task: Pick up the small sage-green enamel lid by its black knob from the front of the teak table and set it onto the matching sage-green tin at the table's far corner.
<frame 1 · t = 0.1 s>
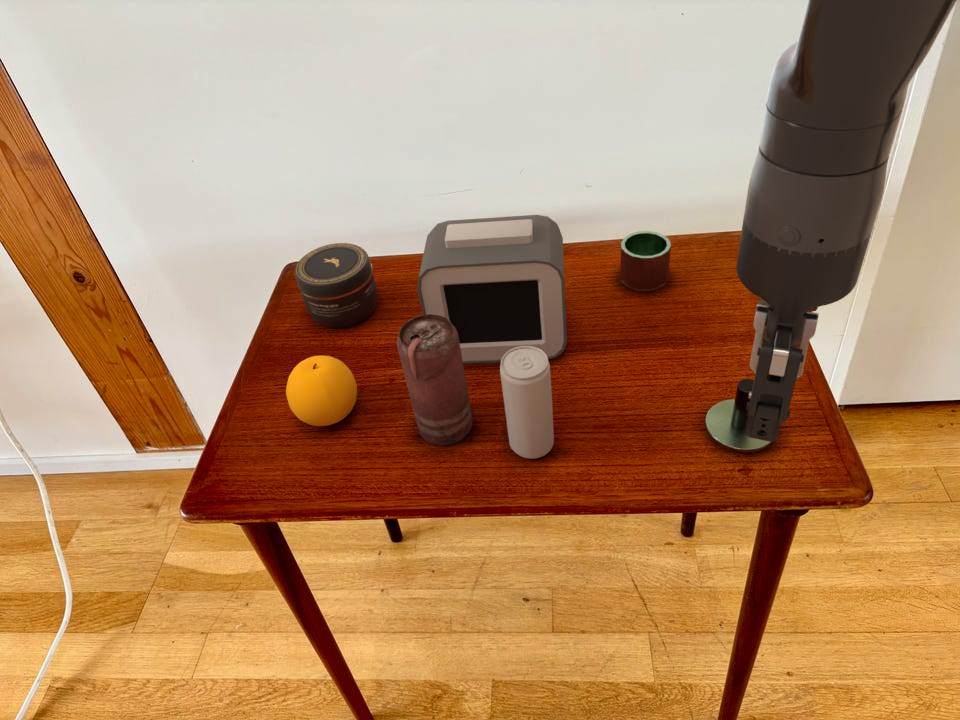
hand: (767, 396, 55), 16 cm above the table, tool pointing down, fingers open, 8 cm apart
can: (446, 429, 79), on the table
jar: (345, 309, 98), on the table
lid: (740, 426, 73), point 1 cm above the table
beverage can: (532, 445, 76), on the table
alarm clock: (501, 333, 90), on the table
pot: (644, 278, 95), on the table
orange: (329, 412, 83), on the table
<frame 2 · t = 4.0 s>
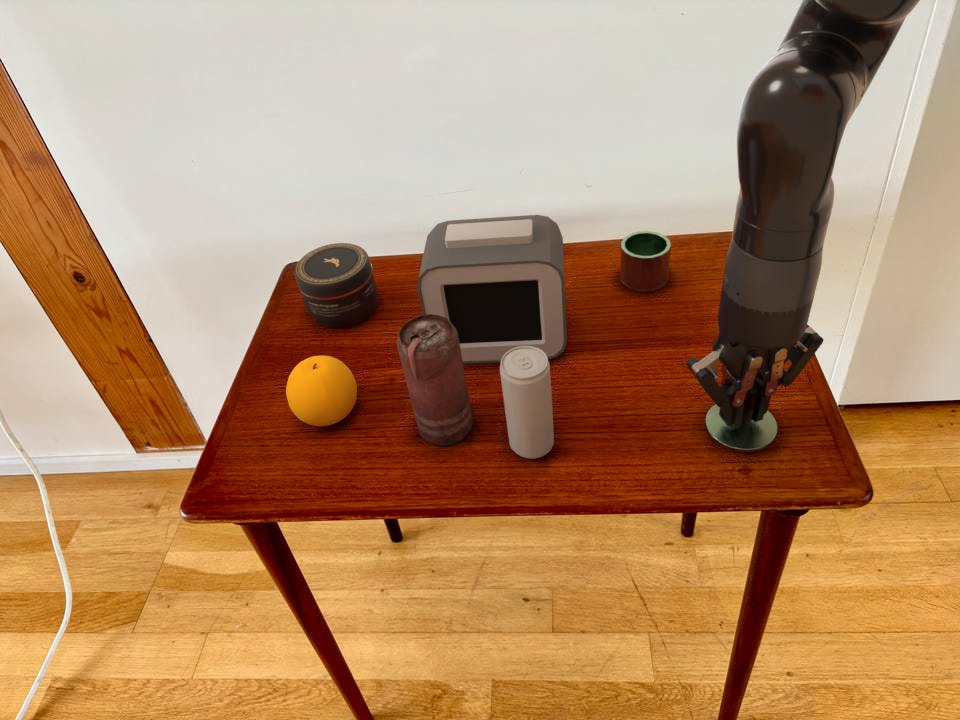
hand: (742, 418, 73), 2 cm above the table, tool pointing down, fingers closed on lid
lid: (740, 426, 73), point 1 cm above the table, touching gripper
everything else where it was.
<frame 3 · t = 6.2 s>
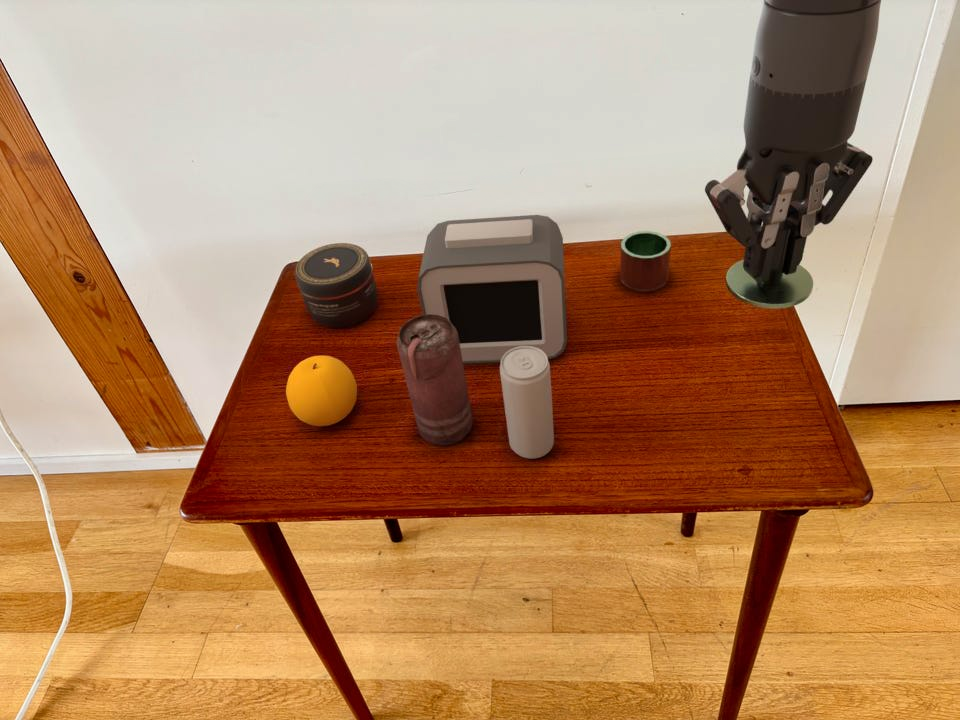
hand: (770, 272, 61), 20 cm above the table, tool pointing down, fingers closed on lid
lid: (768, 283, 61), point 19 cm above the table, touching gripper
everything else where it was.
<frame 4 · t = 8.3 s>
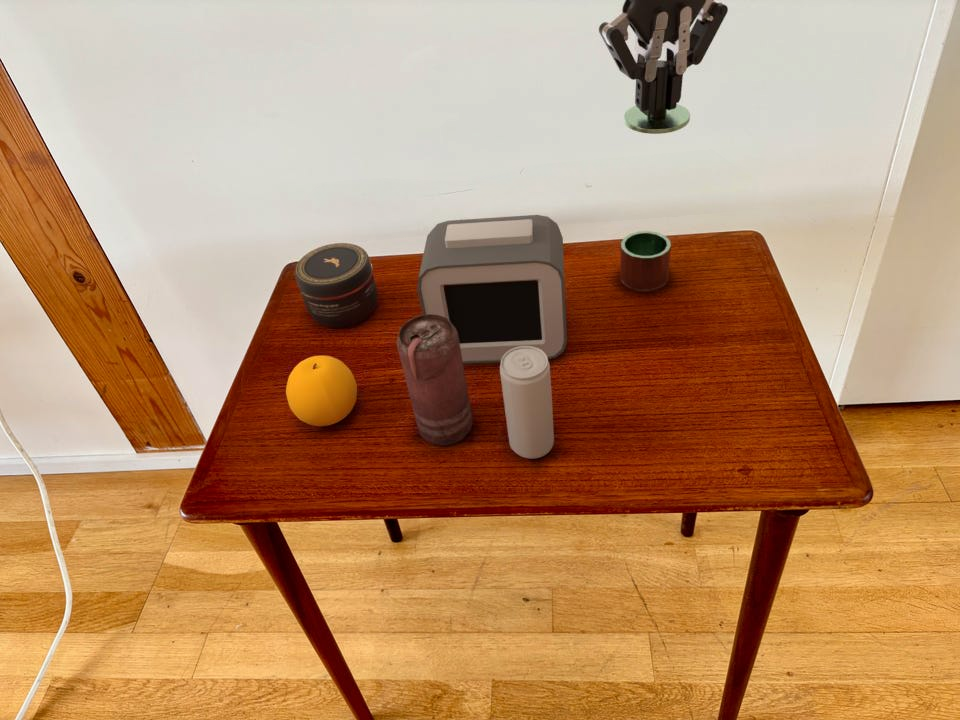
hand: (657, 109, 77), 24 cm above the table, tool pointing down, fingers closed on lid
lid: (656, 119, 77), point 23 cm above the table, touching gripper
everything else where it was.
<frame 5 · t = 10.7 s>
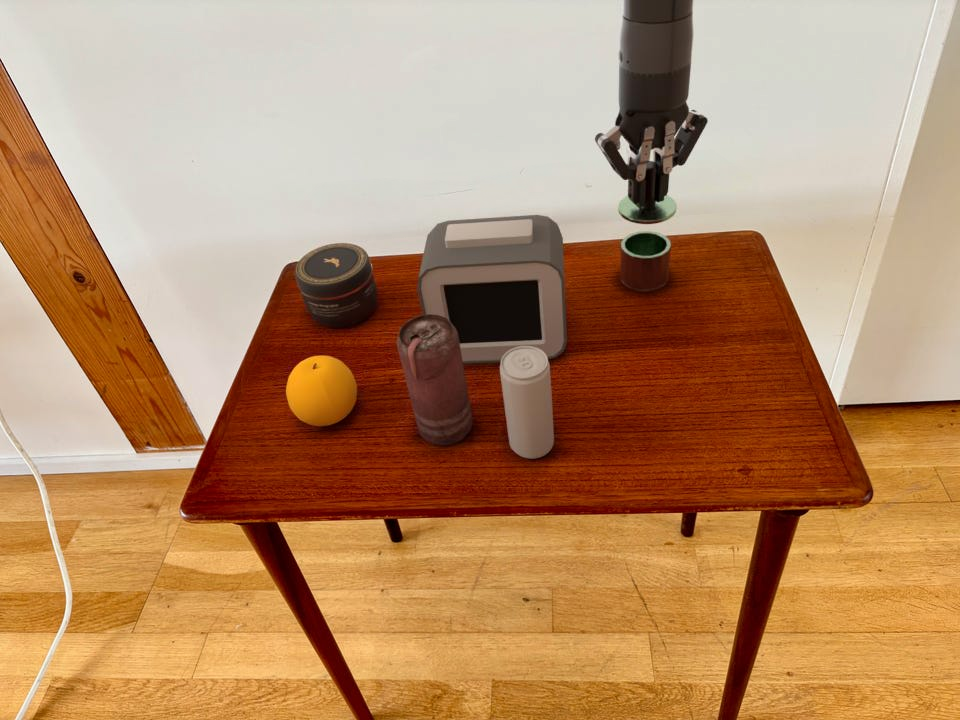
hand: (647, 201, 87), 12 cm above the table, tool pointing down, fingers closed on lid
lid: (647, 209, 88), point 11 cm above the table, touching gripper
everything else where it was.
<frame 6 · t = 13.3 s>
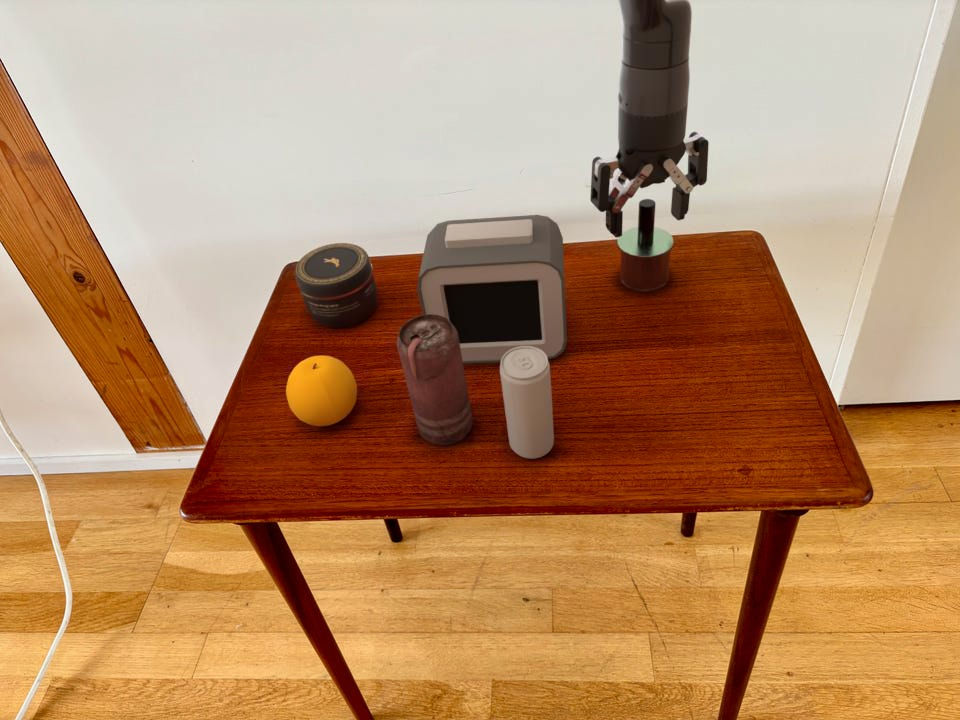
hand: (646, 225, 89), 8 cm above the table, tool pointing down, fingers open, 8 cm apart
lid: (645, 244, 91), point 5 cm above the table, touching pot
everything else where it was.
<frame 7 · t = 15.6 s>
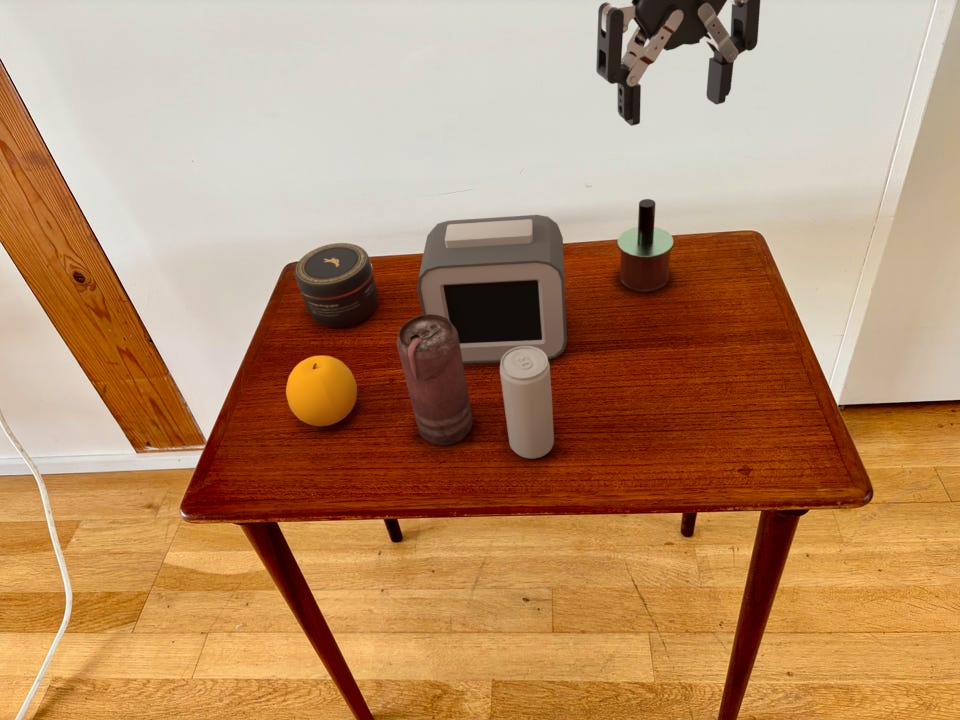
hand: (673, 111, 66), 29 cm above the table, tool pointing down, fingers open, 8 cm apart
nothing on the table moved.
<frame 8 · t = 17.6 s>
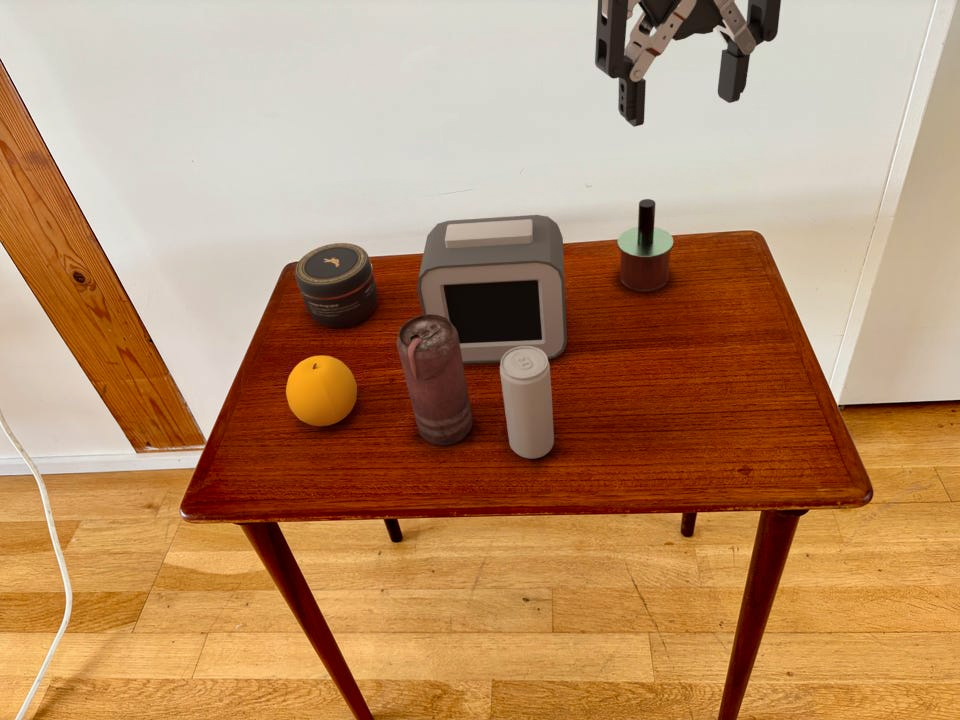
hand: (681, 110, 58), 32 cm above the table, tool pointing down, fingers open, 8 cm apart
nothing on the table moved.
at the end: lid 0.1 cm off-centre on the pot, point 5.4 cm above the pot's base; lid tilted 0° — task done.
